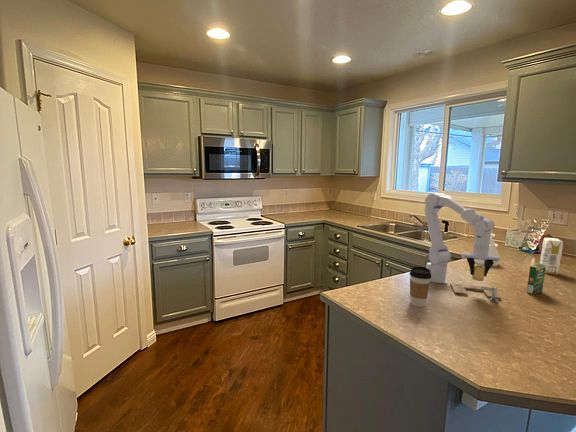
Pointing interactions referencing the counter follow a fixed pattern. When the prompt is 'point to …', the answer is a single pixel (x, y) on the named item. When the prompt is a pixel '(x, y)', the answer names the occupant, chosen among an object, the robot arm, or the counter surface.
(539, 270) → the coffee box
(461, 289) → the brown u-shaped board
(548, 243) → the juice carton
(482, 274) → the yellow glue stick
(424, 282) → the coffee cup
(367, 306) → the counter surface
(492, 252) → the honey pot
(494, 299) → the hook arm
